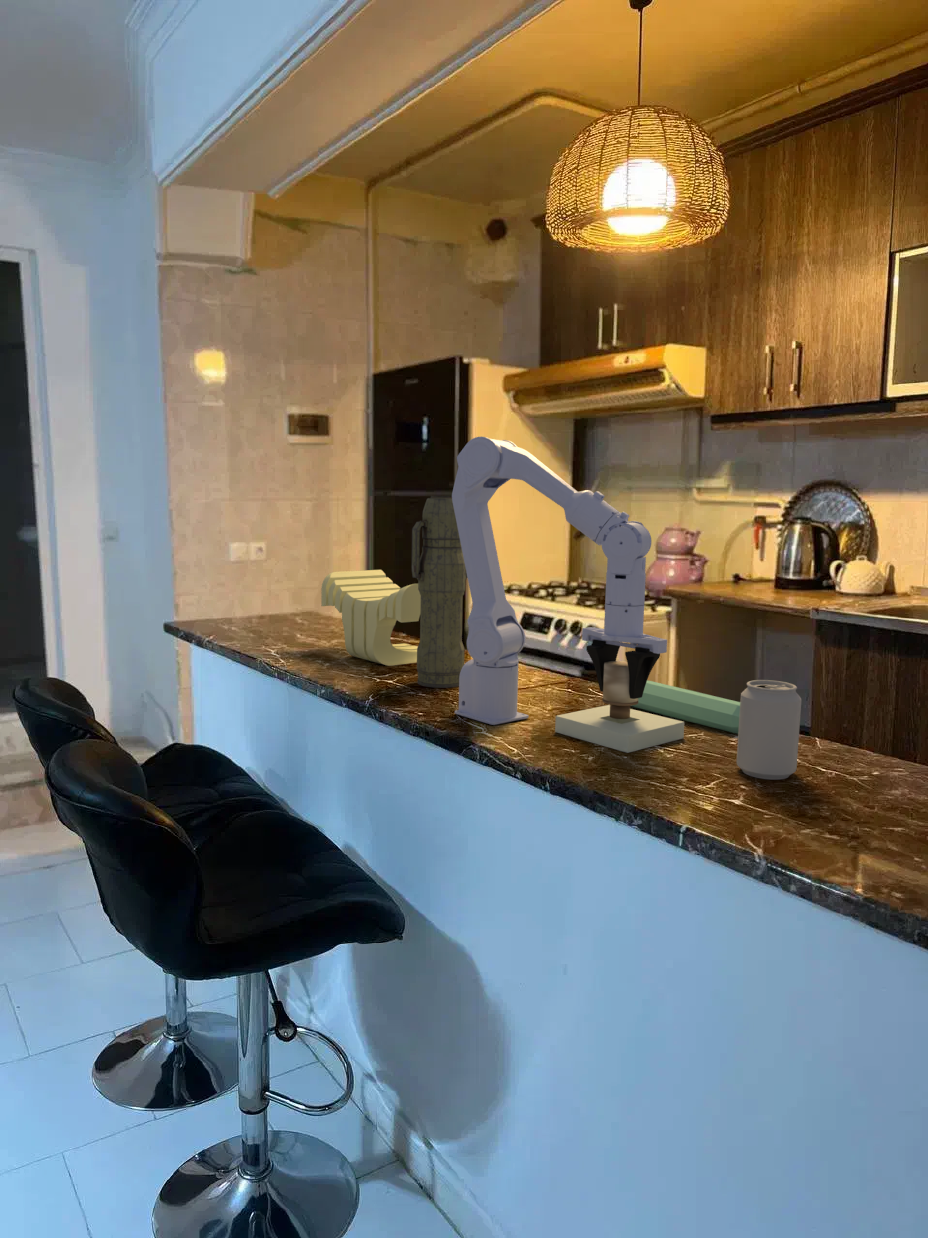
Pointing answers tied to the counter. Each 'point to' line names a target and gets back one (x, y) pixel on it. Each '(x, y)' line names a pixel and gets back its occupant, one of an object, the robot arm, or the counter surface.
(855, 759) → the counter surface
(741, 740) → the can
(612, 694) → the peg
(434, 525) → the thermos
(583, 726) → the board
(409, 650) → the slatted curved stool
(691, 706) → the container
